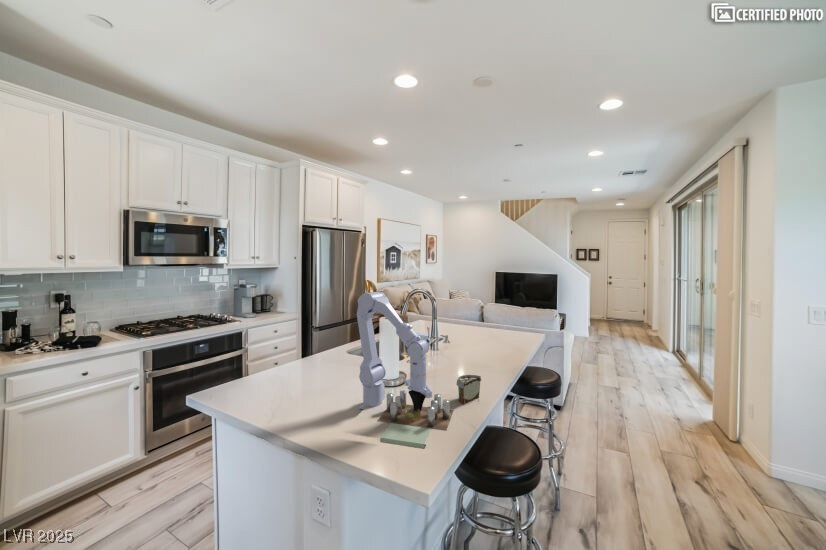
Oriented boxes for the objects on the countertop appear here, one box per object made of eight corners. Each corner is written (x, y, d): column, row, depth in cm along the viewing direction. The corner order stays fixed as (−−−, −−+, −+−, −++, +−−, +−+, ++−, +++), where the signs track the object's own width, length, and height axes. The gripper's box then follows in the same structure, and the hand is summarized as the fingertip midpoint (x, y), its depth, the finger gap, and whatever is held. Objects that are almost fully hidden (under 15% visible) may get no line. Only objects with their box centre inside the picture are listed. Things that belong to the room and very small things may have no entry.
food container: (468, 395, 146) (468, 372, 146) (480, 400, 142) (481, 375, 141) (449, 404, 138) (449, 379, 137) (462, 409, 133) (462, 383, 133)
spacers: (391, 404, 133) (391, 389, 133) (451, 412, 127) (451, 395, 127) (378, 420, 120) (378, 403, 120) (445, 429, 114) (445, 411, 114)
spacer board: (391, 406, 135) (391, 402, 135) (453, 414, 129) (453, 410, 129) (376, 425, 120) (376, 421, 120) (446, 435, 114) (446, 430, 114)
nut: (402, 419, 121) (402, 412, 121) (408, 413, 126) (408, 406, 126) (417, 422, 119) (417, 415, 119) (423, 416, 123) (423, 409, 123)
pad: (390, 427, 118) (390, 423, 118) (431, 433, 115) (431, 428, 115) (380, 442, 109) (380, 437, 109) (424, 449, 105) (424, 444, 105)
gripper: (398, 369, 129) (398, 406, 130) (420, 381, 117) (419, 421, 118) (414, 366, 133) (414, 401, 134) (437, 377, 121) (436, 416, 121)
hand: (417, 410), depth 126 cm, fingers closed
